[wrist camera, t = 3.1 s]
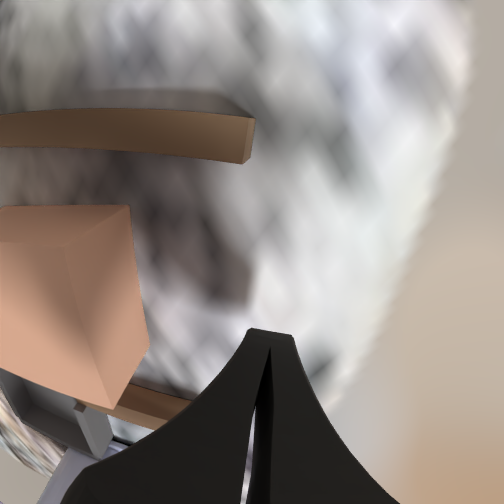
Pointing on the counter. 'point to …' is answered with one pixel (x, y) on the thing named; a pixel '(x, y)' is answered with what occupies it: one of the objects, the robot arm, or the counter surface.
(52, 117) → the lane
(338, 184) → the counter surface
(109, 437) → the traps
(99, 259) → the block
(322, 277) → the counter surface
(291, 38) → the counter surface
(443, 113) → the counter surface
